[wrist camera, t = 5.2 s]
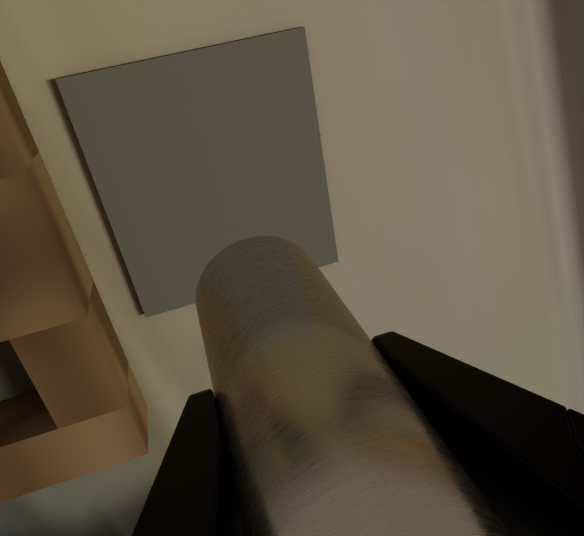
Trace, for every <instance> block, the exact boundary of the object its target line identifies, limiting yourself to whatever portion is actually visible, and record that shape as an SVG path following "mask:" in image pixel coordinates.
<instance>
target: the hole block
mask: <svg viewBox="0 0 584 536" xmlns="http://www.w3.org/2000/svg"><path fill="white" fill-rule="evenodd" d="M6 340H9V341H10V343H11V345H12V346H13V348H14V350H15V352H16V354H17V355H18V357H19V359H20V361H21V363H22V364H23V366H24V368H25V370H26V371H27V373H28V375H29V377H30V379H31V380H32V382H33V384H34V386H35V388H36V389H37V391H35V392H32V393H29V394H26V395H22V396H19V397H16V398H12V399H9V400H6V401H3V402H0V502H3V501H6V500H9V499H12V498H15V497H18V496H21V495H24V494H27V493H30V492H33V491H36V490H39V489H42V488H45V487H48V486H51V485H54V484H57V483H60V482H63V481H66V480H69V479H72V478H75V477H78V476H81V475H84V474H87V473H90V472H93V471H96V470H99V469H102V468H105V467H108V466H111V465H114V464H117V463H120V462H123V461H126V460H129V459H132V458H135V457H138V456H141V455H144V454H147V453H148V433H147V406H146V404H145V401H144V399H143V397H142V394H141V392H140V390H139V387H138V385H137V382H136V380H135V378H134V375H133V373H132V371H131V368H130V366H129V364H128V361H127V359H126V357H125V354H124V352H123V349H122V347H121V345H120V342H119V340H118V338H117V335H116V333H115V331H114V328H113V326H112V323H111V321H110V319H109V316H108V314H107V312H106V309H105V307H104V305H103V302H102V300H101V298H100V295H99V293H98V290H97V288H96V286H95V283H94V281H93V279H92V276H91V274H90V272H89V269H88V267H87V264H86V262H85V260H84V257H83V255H82V253H81V250H80V248H79V246H78V243H77V241H76V239H75V236H74V234H73V231H72V229H71V227H70V224H69V222H68V220H67V217H66V215H65V213H64V210H63V208H62V206H61V203H60V201H59V198H58V196H57V194H56V191H55V189H54V187H53V184H52V182H51V180H50V177H49V175H48V172H47V170H46V168H45V165H44V163H43V161H42V158H41V156H40V154H39V151H38V149H37V147H36V144H35V142H34V139H33V137H32V135H31V132H30V130H29V128H28V125H27V123H26V121H25V118H24V116H23V113H22V111H21V109H20V106H19V104H18V102H17V99H16V97H15V95H14V92H13V90H12V88H11V85H10V83H9V80H8V78H7V76H6V73H5V71H4V69H3V66H2V64H1V62H0V342H3V341H6Z"/></svg>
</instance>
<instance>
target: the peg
mask: <svg viewBox="0 0 584 536" xmlns="http://www.w3.org/2000/svg"><path fill="white" fill-rule="evenodd" d="M196 308H197V313H198V317H199V322H200V327H201V332H202V337H203V341H204V346H205V351H206V356H207V361H208V366H209V370H210V375H211V380H212V385H213V390H214V394H215V398H216V403H217V408H218V413H219V417H220V422H221V427H222V432H223V437H224V441H225V446H226V451H227V457H228V462H229V467H230V472H231V476H232V481H233V486H234V491H235V496H236V500H237V505H238V510H239V515H240V520H241V525H242V529H243V534H244V536H512V534H511V533H510V532H509V530H508V529H507V527H506V526H505V525H504V523H503V522H502V521H501V519H500V518H499V516H498V515H497V514H496V512H495V511H494V509H493V508H492V507H491V505H490V504H489V503H488V501H487V500H486V498H485V497H484V496H483V494H482V493H481V492H480V490H479V489H478V487H477V486H476V485H475V483H474V482H473V480H472V479H471V478H470V476H469V475H468V474H467V472H466V471H465V469H464V468H463V467H462V465H461V464H460V463H459V461H458V460H457V458H456V457H455V456H454V454H453V453H452V451H451V450H450V449H449V447H448V446H447V445H446V443H445V442H444V440H443V439H442V438H441V436H440V435H439V434H438V432H437V431H436V429H435V428H434V427H433V425H432V424H431V423H430V421H429V420H428V418H427V417H426V416H425V414H424V413H423V411H422V410H421V409H420V407H419V406H418V405H417V403H416V402H415V400H414V399H413V398H412V396H411V395H410V394H409V392H408V391H407V389H406V388H405V387H404V385H403V384H402V382H401V381H400V380H399V378H398V377H397V376H396V374H395V373H394V371H393V370H392V369H391V367H390V366H389V365H388V363H387V362H386V360H385V359H384V358H383V356H382V355H381V353H380V352H379V351H378V349H377V348H376V347H375V345H374V344H373V342H372V341H371V340H370V338H369V337H368V336H367V334H366V333H365V331H364V330H363V329H362V327H361V326H360V324H359V323H358V322H357V320H356V319H355V318H354V316H353V315H352V313H351V312H350V311H349V309H348V308H347V307H346V305H345V304H344V302H343V301H342V300H341V298H340V297H339V295H338V294H337V293H336V291H335V290H334V289H333V287H332V286H331V284H330V283H329V282H328V280H327V279H326V278H325V276H324V275H323V273H322V272H321V271H320V269H319V268H318V266H317V265H316V264H315V262H314V261H313V260H312V258H311V257H310V256H309V255H308V253H307V252H306V251H305V250H304V249H302V248H301V247H300V246H298V245H297V244H295V243H293V242H291V241H289V240H286V239H283V238H280V237H274V236H256V237H250V238H246V239H243V240H240V241H237V242H235V243H233V244H231V245H229V246H228V247H226V248H224V249H223V250H222V251H220V252H219V253H218V254H217V255H216V256H215V257H214V258H213V259H212V260H211V261H210V262H209V263H208V265H207V266H206V267H205V269H204V271H203V272H202V274H201V276H200V279H199V281H198V285H197V289H196Z"/></svg>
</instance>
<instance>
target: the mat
mask: <svg viewBox="0 0 584 536" xmlns="http://www.w3.org/2000/svg"><path fill="white" fill-rule="evenodd" d="M55 80H56V82H57V85H58V88H59V90H60V93H61V96H62V98H63V101H64V104H65V106H66V109H67V111H68V114H69V117H70V119H71V122H72V125H73V127H74V130H75V132H76V135H77V138H78V140H79V143H80V146H81V148H82V151H83V154H84V156H85V159H86V161H87V164H88V167H89V169H90V172H91V175H92V177H93V180H94V182H95V185H96V188H97V190H98V193H99V196H100V198H101V201H102V203H103V206H104V209H105V211H106V214H107V217H108V219H109V222H110V225H111V227H112V230H113V232H114V235H115V238H116V240H117V243H118V246H119V248H120V251H121V253H122V256H123V259H124V261H125V264H126V267H127V269H128V272H129V274H130V277H131V280H132V282H133V285H134V288H135V290H136V293H137V296H138V298H139V301H140V303H141V306H142V309H143V311H144V314H145V317H149V316H152V315H156V314H159V313H163V312H166V311H170V310H173V309H176V308H180V307H183V306H187V305H190V304H194V303H196V289H197V285H198V281H199V279H200V276H201V274H202V272H203V271H204V269H205V267H206V266H207V265H208V263H209V262H210V261H211V260H212V259H213V258H214V257H215V256H216V255H217V254H218V253H219V252H220V251H222V250H223V249H224V248H226V247H228V246H229V245H231V244H233V243H235V242H237V241H240V240H243V239H246V238H250V237H256V236H274V237H280V238H283V239H286V240H289V241H291V242H293V243H295V244H297V245H298V246H300V247H301V248H302V249H304V250H305V251H306V252H307V253H308V255H309V256H310V257H311V258H312V260H313V261H314V262H315V264H316V265H317V266H318V267H321V266H324V265H328V264H331V263H334V262H338V257H337V250H336V243H335V236H334V229H333V222H332V215H331V208H330V201H329V194H328V187H327V180H326V173H325V166H324V159H323V153H322V146H321V139H320V132H319V125H318V118H317V111H316V104H315V97H314V90H313V83H312V76H311V69H310V62H309V55H308V48H307V41H306V34H305V27H299V28H294V29H290V30H285V31H280V32H275V33H270V34H266V35H261V36H256V37H251V38H247V39H242V40H237V41H232V42H228V43H223V44H218V45H213V46H209V47H204V48H199V49H194V50H190V51H185V52H180V53H175V54H170V55H166V56H161V57H156V58H151V59H147V60H142V61H137V62H132V63H128V64H123V65H118V66H113V67H109V68H104V69H99V70H94V71H90V72H85V73H80V74H75V75H71V76H66V77H61V78H56V79H55Z"/></svg>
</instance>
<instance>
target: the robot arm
mask: <svg viewBox="0 0 584 536" xmlns="http://www.w3.org/2000/svg"><path fill="white" fill-rule="evenodd" d="M372 342H373V344H374V345H375V347H376V348H377V349H378V351H379V352H380V353H381V355H382V356H383V358H384V359H385V360H386V362H387V363H388V365H389V366H390V367H391V369H392V370H393V371H394V373H395V374H396V376H397V377H398V378H399V380H400V381H401V382H402V384H403V385H404V387H405V388H406V389H407V391H408V392H409V394H410V395H411V396H412V398H413V399H414V400H415V402H416V403H417V405H418V406H419V407H420V409H421V410H422V411H423V413H424V414H425V416H426V417H427V418H428V420H429V421H430V423H431V424H432V425H433V427H434V428H435V429H436V431H437V432H438V434H439V435H440V436H441V438H442V439H443V440H444V442H445V443H446V445H447V446H448V447H449V449H450V450H451V451H452V453H453V454H454V456H455V457H456V458H457V460H458V461H459V463H460V464H461V465H462V467H463V468H464V469H465V471H466V472H467V474H468V475H469V476H470V478H471V479H472V480H473V482H474V483H475V485H476V486H477V487H478V489H479V490H480V492H481V493H482V494H483V496H484V497H485V498H486V500H487V501H488V503H489V504H490V505H491V507H492V508H493V509H494V511H495V512H496V514H497V515H498V516H499V518H500V519H501V521H502V522H503V523H504V525H505V526H506V527H507V529H508V530H509V532H510V533H511V534H512V536H584V415H583V414H581V413H579V412H577V411H574V410H572V409H568V410H567V409H566V407H565V406H562V405H560V404H558V403H556V402H553V401H551V400H549V399H546V398H544V397H542V396H540V395H537V394H535V393H533V392H530V391H528V390H526V389H524V388H521V387H519V386H517V385H514V384H512V383H510V382H508V381H505V380H503V379H501V378H498V377H496V376H494V375H492V374H489V373H487V372H485V371H482V370H480V369H478V368H476V367H473V366H471V365H469V364H466V363H464V362H462V361H460V360H457V359H455V358H453V357H450V356H448V355H446V354H444V353H441V352H439V351H437V350H434V349H432V348H430V347H428V346H425V345H423V344H421V343H418V342H416V341H414V340H412V339H409V338H407V337H405V336H402V335H400V334H398V333H396V332H387V333H384V334H381V335H377V336H375V337H373V339H372ZM132 536H244V534H243V529H242V525H241V520H240V515H239V510H238V505H237V500H236V496H235V491H234V486H233V481H232V476H231V472H230V467H229V462H228V457H227V451H226V446H225V441H224V437H223V432H222V427H221V422H220V417H219V413H218V408H217V403H216V398H215V395H214V393H213V391H212V390H210V389H208V390H205V391H201V392H198V393H195V394H192V395H190V396H189V398H188V400H187V402H186V405H185V407H184V409H183V412H182V414H181V417H180V419H179V422H178V424H177V427H176V429H175V431H174V434H173V436H172V439H171V441H170V444H169V446H168V448H167V451H166V453H165V456H164V458H163V461H162V463H161V466H160V468H159V470H158V473H157V475H156V478H155V480H154V483H153V485H152V487H151V490H150V492H149V495H148V497H147V500H146V502H145V505H144V507H143V509H142V512H141V514H140V517H139V519H138V522H137V524H136V526H135V529H134V531H133V534H132Z"/></svg>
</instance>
